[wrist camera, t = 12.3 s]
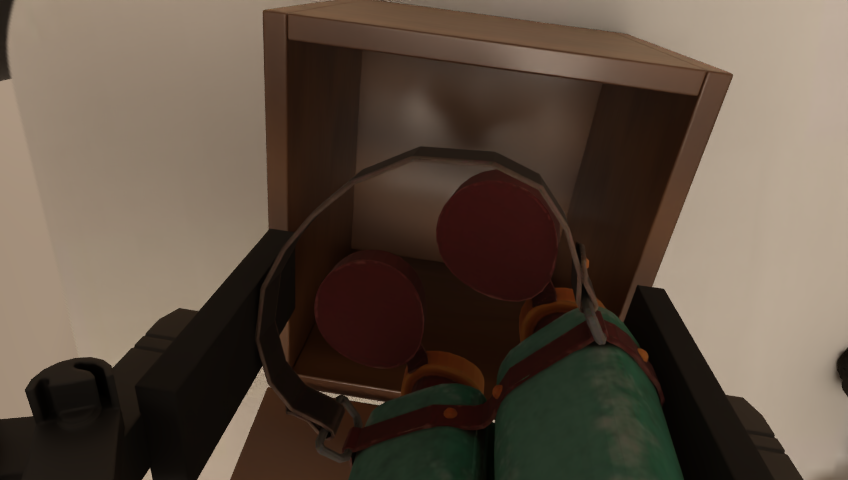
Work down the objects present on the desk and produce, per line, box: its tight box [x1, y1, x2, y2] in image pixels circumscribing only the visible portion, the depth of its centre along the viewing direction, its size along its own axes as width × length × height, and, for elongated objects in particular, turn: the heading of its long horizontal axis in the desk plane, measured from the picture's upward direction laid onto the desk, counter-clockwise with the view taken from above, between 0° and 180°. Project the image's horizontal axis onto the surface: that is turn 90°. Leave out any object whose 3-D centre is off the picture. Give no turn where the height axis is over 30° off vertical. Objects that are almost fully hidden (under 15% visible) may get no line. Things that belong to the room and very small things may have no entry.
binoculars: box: [255, 146, 684, 480], centre depth 12 cm, size 9×11×10 cm
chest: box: [263, 0, 733, 420], centre depth 25 cm, size 16×15×13 cm
